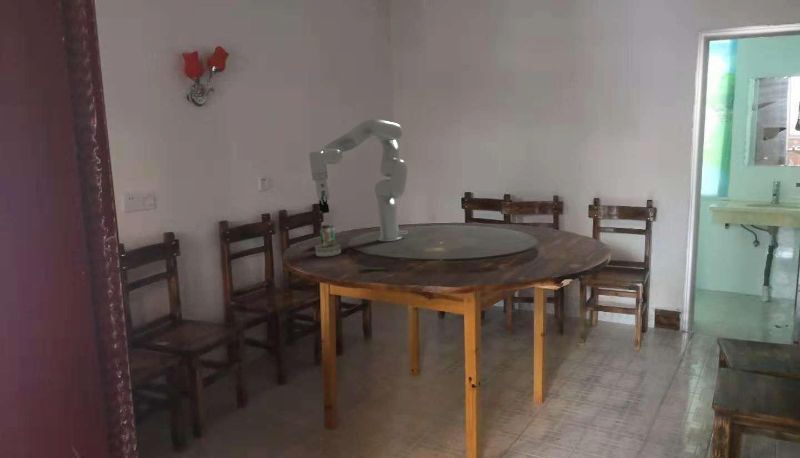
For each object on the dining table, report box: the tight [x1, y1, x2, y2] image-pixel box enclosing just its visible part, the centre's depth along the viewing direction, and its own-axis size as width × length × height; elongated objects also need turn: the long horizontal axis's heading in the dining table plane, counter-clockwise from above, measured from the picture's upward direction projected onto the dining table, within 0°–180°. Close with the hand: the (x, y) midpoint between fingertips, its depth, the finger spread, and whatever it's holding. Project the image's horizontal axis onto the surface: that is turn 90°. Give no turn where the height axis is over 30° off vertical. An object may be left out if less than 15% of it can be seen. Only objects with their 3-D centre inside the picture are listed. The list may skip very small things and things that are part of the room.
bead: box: [314, 242, 342, 257], centre depth 308 cm, size 12×12×4 cm
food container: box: [319, 225, 336, 245], centre depth 328 cm, size 12×6×10 cm, turn 168°
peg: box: [321, 224, 332, 247], centre depth 307 cm, size 4×4×14 cm
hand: (324, 211), depth 305 cm, fingers open, 9 cm apart
